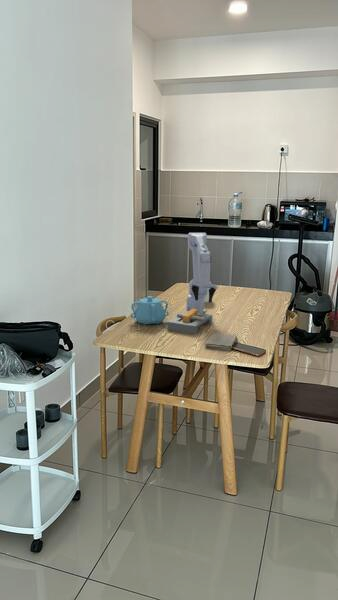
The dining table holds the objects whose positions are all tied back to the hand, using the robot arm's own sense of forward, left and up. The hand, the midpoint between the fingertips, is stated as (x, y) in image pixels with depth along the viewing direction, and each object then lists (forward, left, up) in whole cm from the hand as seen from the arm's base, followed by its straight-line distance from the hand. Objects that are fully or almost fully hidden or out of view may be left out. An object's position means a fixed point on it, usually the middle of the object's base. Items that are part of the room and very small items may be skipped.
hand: (203, 301), depth 247 cm
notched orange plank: (-2, -12, -8) cm, 15 cm away
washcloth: (+21, -29, -11) cm, 38 cm away
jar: (-17, +39, -11) cm, 44 cm away
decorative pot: (-23, -16, -11) cm, 30 cm away
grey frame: (-2, -12, -10) cm, 16 cm away
